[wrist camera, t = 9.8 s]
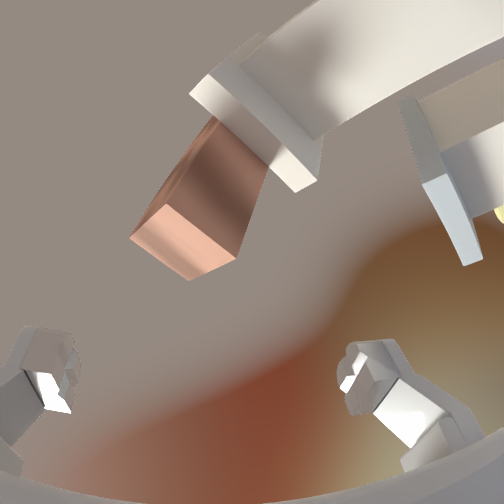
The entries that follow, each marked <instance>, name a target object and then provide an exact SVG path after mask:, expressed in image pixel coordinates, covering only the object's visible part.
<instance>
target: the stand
mask: <svg viewBox="0 0 504 504" xmlns="http://www.w3.org/2000/svg"><path fill="white" fill-rule="evenodd" d="M502 37H504V0H316V1H314V2H313V3H311V4H310V5H309V6H308V7H306V8H305V9H303V10H302V11H301V12H299V13H298V14H297V15H295V16H294V17H293V18H291V19H290V20H289V21H288V22H286V23H285V24H284V25H282V26H281V27H280V28H279V29H278V30H276V31H275V32H274V33H273V34H271V35H270V36H269V37H268V38H267V37H266V36H265V35H264V34H263V33H262V32H261V31H260V32H258V33H257V34H256V35H254V36H253V37H252V38H250V39H249V40H248V41H247V42H245V43H244V44H243V45H242V46H240V47H239V48H238V49H237V50H235V51H234V52H233V53H232V54H230V55H229V56H228V57H227V58H226V59H225V60H223V61H222V62H221V63H220V64H219V65H218V66H216V67H215V68H214V69H213V70H212V71H211V72H209V73H208V74H207V75H206V76H205V77H204V78H203V79H202V80H201V81H200V83H199V84H198V85H197V86H196V87H195V88H194V89H193V90H192V91H191V92H190V93H189V94H190V95H191V96H192V97H193V98H194V99H195V100H197V101H198V102H199V103H200V104H201V105H202V106H204V107H205V108H206V109H207V110H208V111H209V112H210V113H211V114H213V115H214V116H215V117H216V118H217V119H218V120H219V121H220V122H221V123H223V124H224V125H225V126H226V127H227V128H228V129H229V130H230V131H231V132H233V133H234V134H235V135H236V136H237V137H238V138H239V139H240V140H241V141H242V142H243V143H244V144H245V145H247V146H248V147H249V148H250V149H251V150H252V151H253V152H254V153H255V154H256V155H257V156H258V157H259V158H260V159H261V160H262V161H263V162H264V163H266V164H267V165H268V166H269V167H270V168H271V169H272V170H273V171H274V172H275V173H276V174H277V175H278V176H279V177H280V178H281V179H282V180H283V181H284V182H285V183H286V184H287V185H288V186H289V187H290V188H291V189H292V190H293V191H294V192H295V193H296V192H297V191H299V190H301V189H303V188H305V187H306V186H308V185H310V184H312V183H313V182H315V181H317V179H318V173H319V166H320V159H321V152H322V144H323V137H324V134H325V133H327V132H328V131H330V130H332V129H333V128H335V127H337V126H338V125H340V124H341V123H343V122H345V121H347V120H348V119H350V118H352V117H353V116H355V115H357V114H358V113H360V112H362V111H363V110H365V109H367V108H369V107H370V106H372V105H374V104H375V103H377V102H379V101H381V100H382V99H384V98H386V97H387V96H389V95H391V94H393V93H394V92H397V91H398V90H400V89H402V88H404V87H406V86H407V85H409V84H411V83H413V82H415V81H417V80H418V79H420V78H422V77H424V76H426V75H428V74H430V73H431V72H433V71H435V70H437V69H439V68H441V67H443V66H445V65H446V64H449V63H451V62H453V61H454V60H456V59H459V58H461V57H463V56H465V55H466V54H468V53H471V52H473V51H475V50H477V49H479V48H481V47H483V46H485V45H487V44H489V43H491V42H494V41H496V40H498V39H500V38H502ZM397 105H398V107H399V110H400V113H401V116H402V118H403V122H404V125H405V128H406V131H407V134H408V137H409V140H410V144H411V147H412V150H413V154H414V157H415V161H416V165H417V168H418V172H419V175H420V180H421V184H422V186H423V188H424V189H425V191H426V193H427V195H428V196H429V198H430V200H431V202H432V204H433V205H434V207H435V209H436V211H437V213H438V215H439V216H440V219H441V220H442V222H443V224H444V226H445V228H446V230H447V232H448V234H449V236H450V238H451V240H452V242H453V244H454V246H455V249H456V251H457V253H458V255H459V257H460V259H461V262H462V264H463V266H466V265H468V264H471V263H474V262H476V261H479V260H482V259H483V257H482V253H481V249H480V245H479V241H478V238H477V234H476V231H475V227H474V224H473V221H472V218H474V217H476V216H479V215H481V214H484V213H486V212H488V211H491V210H493V209H495V208H498V207H500V206H502V205H504V58H503V59H501V60H499V61H497V62H495V63H492V64H490V65H488V66H486V67H484V68H482V69H480V70H478V71H476V72H474V73H472V74H470V75H468V76H466V77H464V78H462V79H460V80H458V81H456V82H454V83H452V84H450V85H448V86H446V87H444V88H442V89H440V90H438V91H436V92H434V93H433V94H431V95H429V96H427V97H425V98H423V99H421V100H419V101H417V100H416V99H415V97H414V96H413V94H411V95H410V96H408V97H406V98H404V99H403V100H400V101H398V102H397Z"/></svg>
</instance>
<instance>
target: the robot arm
mask: <svg viewBox="0 0 504 504" xmlns="http://www.w3.org/2000/svg"><path fill="white" fill-rule="evenodd" d="M74 342H75V341H74V338H73V336H72V334H71V333H69V332H63V331H58V330H51V329H47V328H40V327H35V326H29V325H26V326H24V327H23V328H22V330H21V332H20V334H19V336H18V338H17V340H16V342H15V344H14V346H13V348H12V350H11V352H10V354H9V356H8V359H7V361H6V363H5V365H0V504H143V503H135V502H127V501H120V500H113V499H107V498H101V497H96V496H91V495H86V494H81V493H76V492H72V491H68V490H64V489H60V488H57V487H53V486H49V485H46V484H42V483H39V482H36V481H32V480H29V479H26V478H23V477H21V472H22V467H23V460H22V458H21V457H20V456H19V455H18V454H17V453H16V452H15V451H14V450H13V449H12V448H11V447H12V446H13V445H14V443H15V442H16V441H17V440H18V439H19V438H20V437H21V436H22V435H23V433H25V431H26V430H27V429H28V428H29V427H30V426H31V425H32V424H33V423H34V422H35V421H36V420H37V418H38V417H39V416H40V415H41V414H42V413H43V412H44V411H45V408H47V409H52V410H57V411H63V412H69V413H70V412H71V408H72V404H73V400H74V396H75V394H74V391H73V389H72V387H73V386H75V385H76V384H77V383H78V381H79V377H80V368H81V363H80V357H79V354H78V352H77V351H76V350H75V349H74V348H73V345H74ZM346 353H347V356H346V357H344V358H343V359H342V360H341V361H340V363H339V365H338V367H337V381H338V384H339V387H340V388H341V389H342V390H343V391H345V392H346V396H345V399H344V400H345V402H346V405H347V407H348V410H349V413H350V415H351V416H352V415H360V414H366V413H372V412H374V413H373V414H374V415H375V416H376V417H377V418H378V419H379V420H381V421H382V422H383V423H384V424H385V425H386V426H387V427H388V428H389V429H390V430H391V431H392V432H393V433H394V434H396V435H397V436H398V437H399V438H400V439H401V440H402V441H403V442H404V443H405V444H406V445H407V446H409V447H410V449H409V450H408V451H407V452H406V453H405V454H404V455H402V457H401V459H400V461H401V464H402V466H403V469H404V472H405V473H402V474H399V475H396V476H393V477H390V478H387V479H384V480H380V481H377V482H374V483H370V484H367V485H363V486H359V487H355V488H351V489H347V490H343V491H339V492H334V493H329V494H325V495H319V496H314V497H308V498H303V499H296V500H290V501H282V502H274V503H265V504H504V427H503V428H501V429H499V430H497V431H496V432H494V433H492V434H490V435H488V436H487V437H485V435H484V434H483V432H482V430H481V428H480V426H479V425H478V423H477V421H476V419H475V417H474V416H473V414H472V412H471V411H470V409H469V408H468V407H467V406H465V405H464V404H462V403H461V402H459V401H458V400H456V399H455V398H453V397H452V396H450V395H449V394H447V393H446V392H444V391H443V390H441V389H440V388H439V387H437V386H435V385H434V384H433V383H431V382H430V381H428V380H427V379H425V378H424V377H422V376H421V375H419V374H418V375H415V373H414V372H413V370H412V368H411V366H410V364H409V363H408V361H407V359H406V358H405V356H404V354H403V353H402V351H401V349H400V348H399V346H398V345H397V343H396V341H394V340H393V339H385V340H372V341H360V342H351V343H350V344H349V345H348V346H347V349H346Z"/></svg>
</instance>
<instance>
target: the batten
mask: <svg viewBox="0 0 504 504" xmlns="http://www.w3.org/2000/svg"><path fill="white" fill-rule="evenodd" d="M268 167H269V166H268V165H267V164H266V163H264V162H263V161H262V160H261V159H260V158H259V157H258V156H257V155H256V154H255V153H254V152H253V151H252V150H251V149H250V148H249V147H248V146H247V145H245V144H244V143H243V142H242V141H241V140H240V139H239V138H238V137H237V136H236V135H235V134H234V133H233V132H231V131H230V130H229V129H228V128H227V127H226V126H225V125H224V124H223V123H221V122H220V121H219V120H218V119H217V118H216V117H215V116H214V115H213V116H212V117H211V119H210V120H209V121H208V123H207V124H206V125H205V127H204V128H203V129H202V131H201V132H200V133H199V135H198V136H197V137H196V139H195V140H194V141H193V143H192V144H191V145H190V147H189V148H188V150H187V151H186V152H185V154H184V155H183V157H182V158H181V159H180V161H179V162H178V164H177V165H176V167H175V168H174V169H173V171H172V172H171V174H170V175H169V177H168V178H167V180H166V181H165V183H164V184H163V186H162V187H161V189H160V190H159V192H158V193H157V195H156V196H155V198H154V199H153V201H152V202H151V204H150V205H149V207H148V209H147V210H146V212H145V213H144V215H143V217H142V218H141V220H140V221H139V223H138V225H137V226H136V228H135V229H134V231H133V233H132V234H131V236H130V239H131V240H133V241H134V242H135V243H137V244H138V245H139V246H141V247H142V248H143V249H145V250H146V251H148V252H149V253H150V254H152V255H153V256H155V257H156V258H157V259H159V260H160V261H161V262H163V263H164V264H166V265H167V266H168V267H170V268H171V269H173V270H174V271H175V272H177V273H178V274H180V275H181V276H183V277H184V278H185V279H187V280H188V281H190V280H192V279H194V278H197V277H199V276H201V275H203V274H205V273H207V272H209V271H211V270H213V269H215V268H217V267H219V266H222V265H223V264H226V263H228V262H230V261H232V260H234V259H236V258H237V255H238V252H239V249H240V247H241V244H242V241H243V238H244V235H245V232H246V229H247V227H248V224H249V221H250V218H251V215H252V212H253V209H254V207H255V204H256V201H257V198H258V195H259V193H260V190H261V187H262V184H263V181H264V179H265V176H266V173H267V170H268Z"/></svg>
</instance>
